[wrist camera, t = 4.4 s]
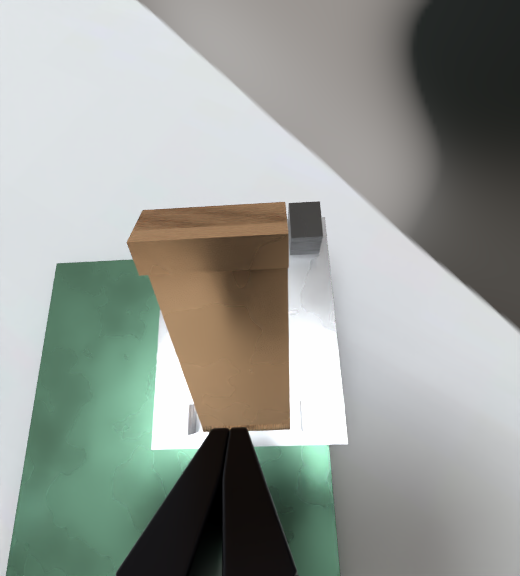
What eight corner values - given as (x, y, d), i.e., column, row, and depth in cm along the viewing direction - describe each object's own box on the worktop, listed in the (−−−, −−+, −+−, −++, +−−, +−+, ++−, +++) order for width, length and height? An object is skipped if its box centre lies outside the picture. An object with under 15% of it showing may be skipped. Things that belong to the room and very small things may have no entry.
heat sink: (341, 600, 16) (391, 761, 9) (6, 603, 16) (-205, 756, 9) (311, 252, 21) (327, 174, 14) (60, 266, 22) (-47, 197, 15)
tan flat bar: (288, 410, 13) (290, 444, 12) (207, 413, 13) (203, 447, 12) (284, 200, 7) (288, 233, 6) (143, 209, 7) (126, 242, 7)
